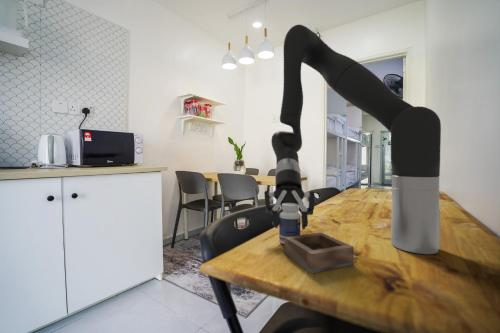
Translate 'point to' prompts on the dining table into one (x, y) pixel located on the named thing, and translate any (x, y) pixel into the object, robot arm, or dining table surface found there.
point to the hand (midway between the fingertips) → (290, 226)
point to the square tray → (318, 252)
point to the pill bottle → (289, 221)
